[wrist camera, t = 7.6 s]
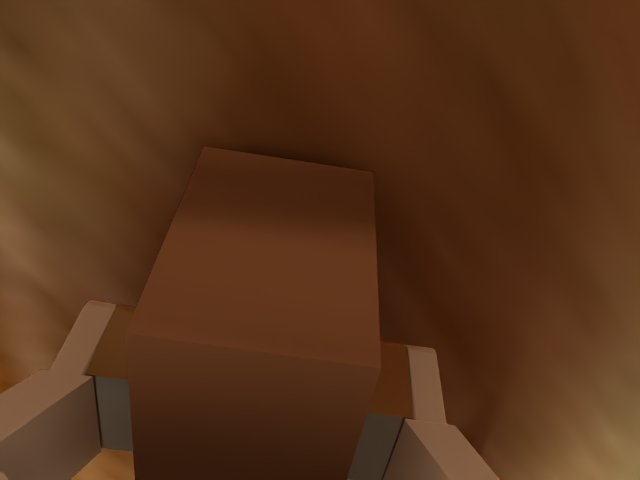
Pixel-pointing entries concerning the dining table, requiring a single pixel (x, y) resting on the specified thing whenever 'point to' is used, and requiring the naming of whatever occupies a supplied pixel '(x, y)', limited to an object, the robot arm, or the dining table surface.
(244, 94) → the dining table surface
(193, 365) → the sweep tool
